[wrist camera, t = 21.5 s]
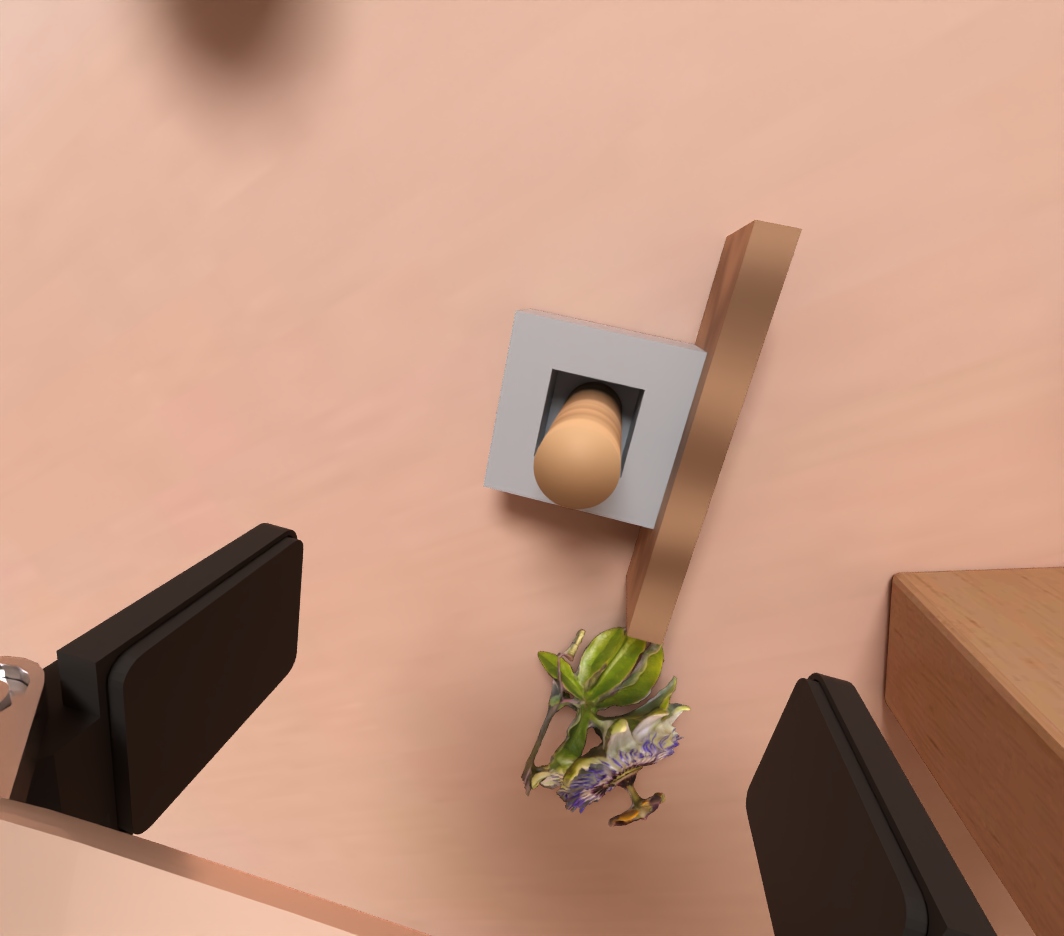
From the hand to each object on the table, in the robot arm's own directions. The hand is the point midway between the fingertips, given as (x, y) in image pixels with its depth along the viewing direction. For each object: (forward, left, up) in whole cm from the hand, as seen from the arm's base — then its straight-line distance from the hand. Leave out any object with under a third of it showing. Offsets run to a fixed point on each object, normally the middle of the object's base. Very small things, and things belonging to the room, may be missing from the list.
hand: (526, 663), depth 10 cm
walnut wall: (0, +6, -26) cm, 26 cm away
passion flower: (+20, +5, -26) cm, 33 cm away
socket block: (0, 0, -25) cm, 25 cm away
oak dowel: (0, 0, -24) cm, 24 cm away
